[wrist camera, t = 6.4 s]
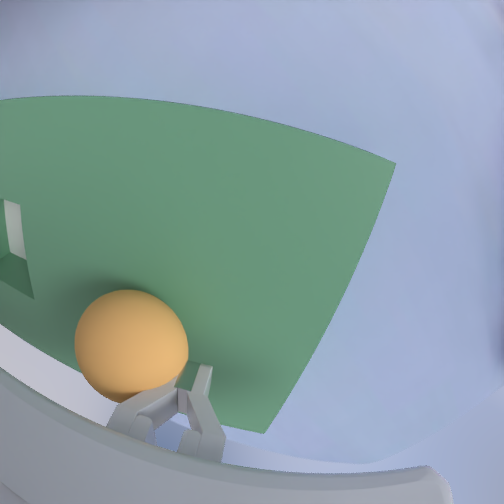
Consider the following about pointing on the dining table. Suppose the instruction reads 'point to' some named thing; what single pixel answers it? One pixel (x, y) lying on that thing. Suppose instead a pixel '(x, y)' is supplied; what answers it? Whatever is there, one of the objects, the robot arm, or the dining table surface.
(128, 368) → the ball
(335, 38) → the dining table surface
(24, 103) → the green
